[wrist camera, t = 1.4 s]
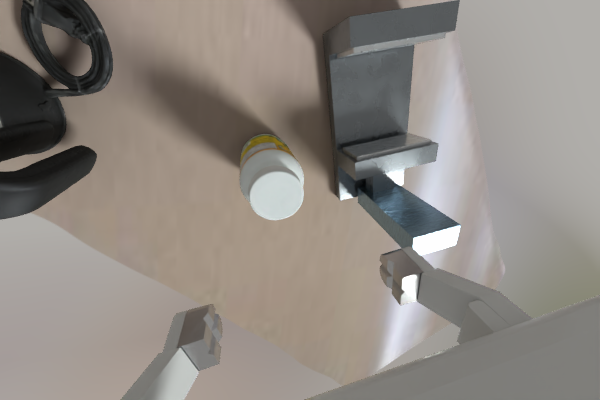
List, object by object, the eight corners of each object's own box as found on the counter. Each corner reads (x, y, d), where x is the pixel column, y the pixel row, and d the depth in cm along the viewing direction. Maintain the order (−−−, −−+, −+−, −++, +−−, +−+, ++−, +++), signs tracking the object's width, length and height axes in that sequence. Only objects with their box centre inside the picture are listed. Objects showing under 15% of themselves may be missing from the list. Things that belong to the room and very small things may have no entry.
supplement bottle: (233, 140, 27) (226, 173, 17) (283, 127, 27) (304, 150, 17) (250, 186, 30) (252, 236, 20) (295, 173, 30) (318, 216, 21)
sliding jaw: (336, 146, 28) (392, 184, 17) (407, 131, 29) (501, 157, 19) (340, 205, 32) (388, 264, 22) (402, 189, 34) (477, 238, 23)
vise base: (322, 34, 24) (349, 16, 18) (407, 20, 25) (459, 0, 19) (336, 196, 33) (356, 220, 27) (397, 181, 35) (429, 201, 29)
